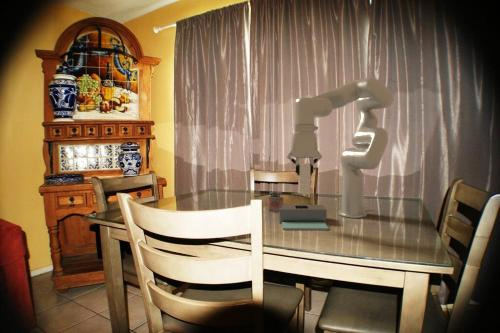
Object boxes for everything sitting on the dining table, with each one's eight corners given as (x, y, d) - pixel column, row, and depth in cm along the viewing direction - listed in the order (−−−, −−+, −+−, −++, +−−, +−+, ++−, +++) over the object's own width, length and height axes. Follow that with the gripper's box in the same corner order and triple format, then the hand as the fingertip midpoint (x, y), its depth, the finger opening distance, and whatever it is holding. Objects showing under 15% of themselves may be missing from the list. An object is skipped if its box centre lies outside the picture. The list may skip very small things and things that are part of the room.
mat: (324, 224, 121) (324, 222, 121) (328, 230, 113) (328, 228, 113) (281, 223, 122) (281, 222, 122) (282, 229, 114) (282, 227, 114)
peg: (308, 192, 118) (308, 163, 117) (310, 194, 114) (310, 164, 112) (298, 192, 118) (298, 163, 117) (299, 194, 114) (299, 164, 113)
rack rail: (322, 217, 130) (322, 204, 130) (326, 223, 122) (326, 209, 121) (278, 217, 132) (278, 204, 131) (279, 223, 123) (279, 209, 122)
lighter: (267, 211, 143) (267, 191, 142) (269, 209, 146) (269, 190, 145) (282, 213, 139) (282, 193, 138) (284, 211, 142) (284, 191, 141)
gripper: (324, 129, 117) (323, 173, 118) (282, 130, 118) (282, 174, 119) (327, 128, 109) (327, 176, 111) (283, 129, 110) (283, 176, 112)
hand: (304, 174), depth 115 cm, fingers closed on peg, 4 cm apart
